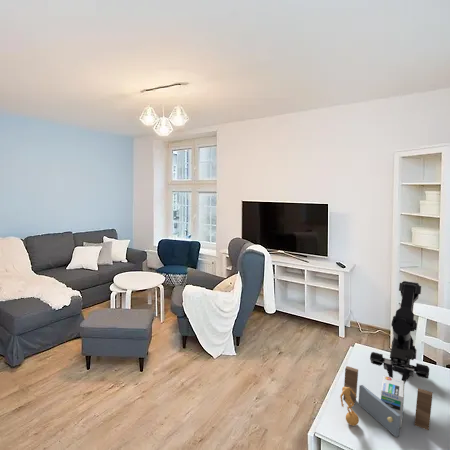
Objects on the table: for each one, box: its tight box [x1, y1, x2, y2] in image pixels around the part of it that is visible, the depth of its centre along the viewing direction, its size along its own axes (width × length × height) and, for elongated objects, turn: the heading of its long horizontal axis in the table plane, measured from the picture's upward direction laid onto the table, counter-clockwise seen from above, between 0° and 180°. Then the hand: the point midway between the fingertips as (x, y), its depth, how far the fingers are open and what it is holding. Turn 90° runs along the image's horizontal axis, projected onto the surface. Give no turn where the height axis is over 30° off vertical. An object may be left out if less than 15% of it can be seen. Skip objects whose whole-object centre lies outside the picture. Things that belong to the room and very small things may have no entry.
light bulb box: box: [380, 375, 406, 429], centre depth 110 cm, size 11×7×11 cm, turn 150°
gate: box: [357, 384, 400, 437], centre depth 107 cm, size 2×16×7 cm, turn 20°
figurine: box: [339, 386, 360, 427], centre depth 106 cm, size 8×6×12 cm
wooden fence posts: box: [342, 365, 434, 431], centre depth 111 cm, size 2×26×12 cm, turn 56°
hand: (395, 388), depth 114 cm, fingers closed on light bulb box, 2 cm apart
